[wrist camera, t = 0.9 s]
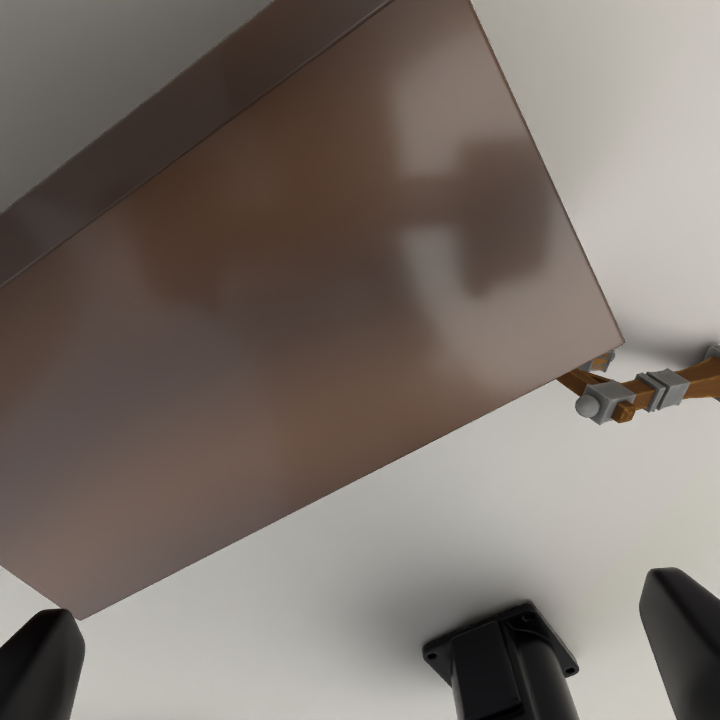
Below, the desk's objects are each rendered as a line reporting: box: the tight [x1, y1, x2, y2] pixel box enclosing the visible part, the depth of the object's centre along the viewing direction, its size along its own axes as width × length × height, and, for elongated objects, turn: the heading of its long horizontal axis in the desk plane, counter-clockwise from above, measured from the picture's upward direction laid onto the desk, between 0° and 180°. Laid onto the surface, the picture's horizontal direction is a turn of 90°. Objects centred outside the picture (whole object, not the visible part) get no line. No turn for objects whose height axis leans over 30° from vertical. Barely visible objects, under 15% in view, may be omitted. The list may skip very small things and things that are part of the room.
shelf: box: [0, 0, 625, 621], centre depth 16 cm, size 10×18×8 cm, turn 123°
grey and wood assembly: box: [556, 344, 720, 425], centre depth 21 cm, size 2×8×4 cm, turn 81°
